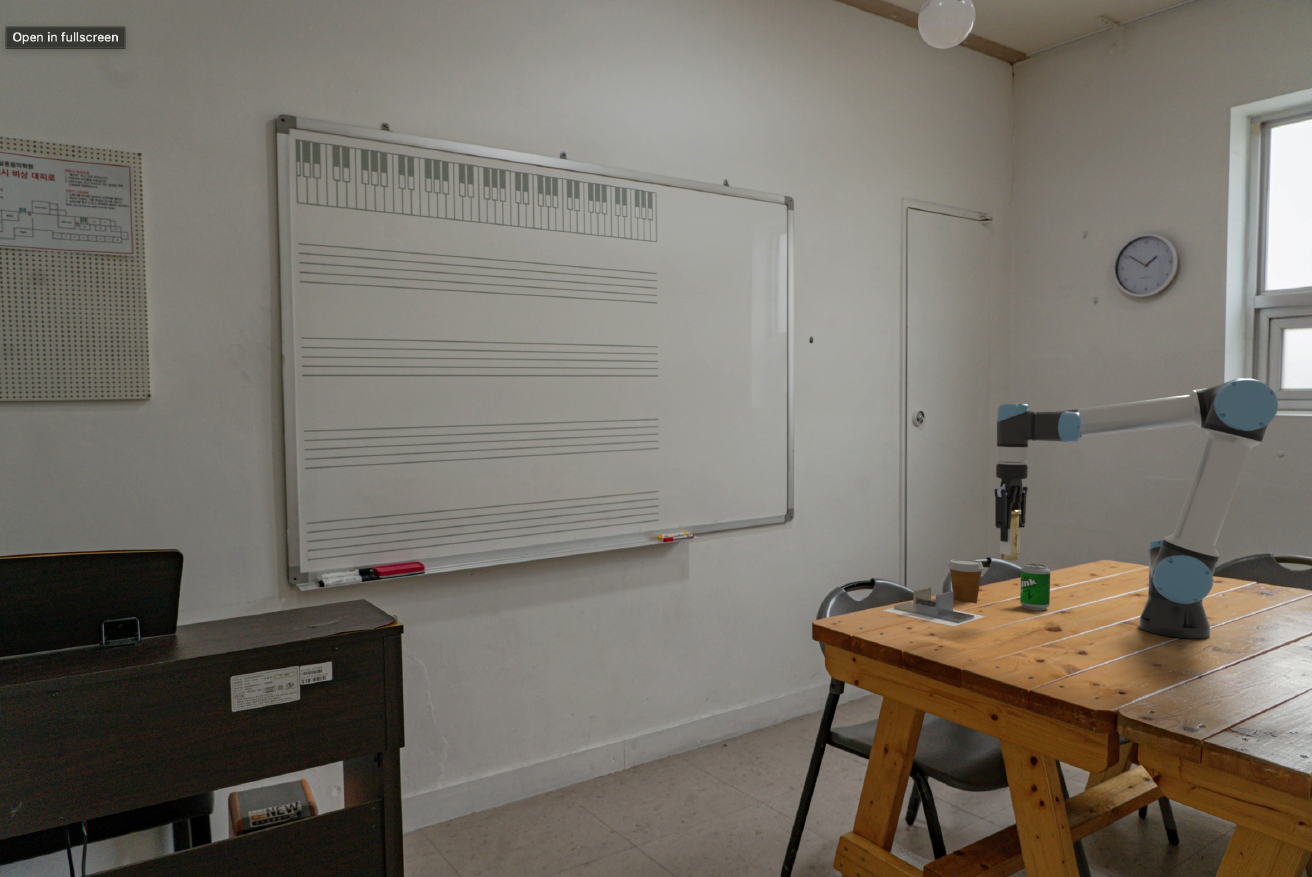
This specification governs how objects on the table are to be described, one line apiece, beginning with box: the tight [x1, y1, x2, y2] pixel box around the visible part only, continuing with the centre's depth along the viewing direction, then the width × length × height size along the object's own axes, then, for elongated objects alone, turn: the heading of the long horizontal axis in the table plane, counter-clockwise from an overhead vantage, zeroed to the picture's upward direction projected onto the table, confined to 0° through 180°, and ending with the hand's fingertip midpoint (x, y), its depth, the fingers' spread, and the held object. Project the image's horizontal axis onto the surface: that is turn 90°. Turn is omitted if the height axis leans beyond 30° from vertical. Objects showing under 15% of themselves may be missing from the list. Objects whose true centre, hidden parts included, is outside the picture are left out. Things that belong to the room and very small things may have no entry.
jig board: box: [882, 607, 986, 628], centre depth 221 cm, size 21×16×1 cm
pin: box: [1000, 509, 1021, 561], centre depth 215 cm, size 5×5×13 cm
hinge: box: [893, 586, 974, 623], centre depth 221 cm, size 19×7×6 cm, turn 41°
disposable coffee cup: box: [947, 558, 984, 604], centre depth 238 cm, size 10×10×12 cm
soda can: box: [1019, 563, 1051, 611], centre depth 233 cm, size 8×8×12 cm
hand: (1009, 552), depth 215 cm, fingers closed on pin, 4 cm apart
